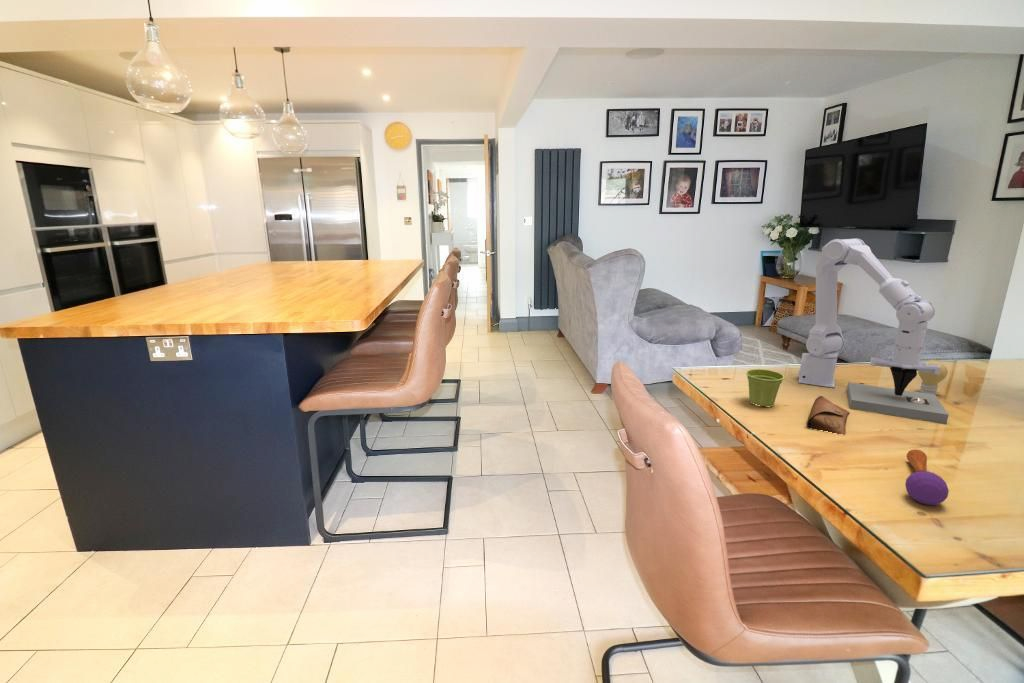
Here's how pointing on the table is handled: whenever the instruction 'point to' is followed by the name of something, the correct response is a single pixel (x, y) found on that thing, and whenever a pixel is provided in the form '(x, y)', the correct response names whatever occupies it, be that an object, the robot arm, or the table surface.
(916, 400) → the steel ball
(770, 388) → the plant pot
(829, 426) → the sunglasses case
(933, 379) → the light bulb
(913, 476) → the purple maraca
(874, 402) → the hole deck
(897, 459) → the table surface
